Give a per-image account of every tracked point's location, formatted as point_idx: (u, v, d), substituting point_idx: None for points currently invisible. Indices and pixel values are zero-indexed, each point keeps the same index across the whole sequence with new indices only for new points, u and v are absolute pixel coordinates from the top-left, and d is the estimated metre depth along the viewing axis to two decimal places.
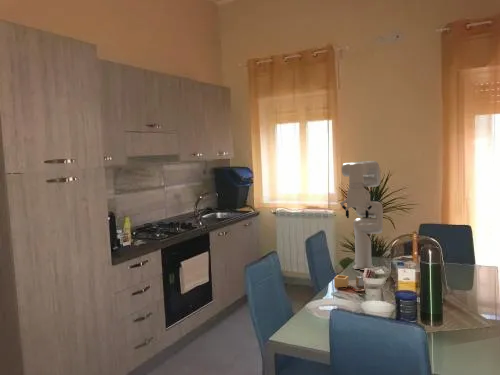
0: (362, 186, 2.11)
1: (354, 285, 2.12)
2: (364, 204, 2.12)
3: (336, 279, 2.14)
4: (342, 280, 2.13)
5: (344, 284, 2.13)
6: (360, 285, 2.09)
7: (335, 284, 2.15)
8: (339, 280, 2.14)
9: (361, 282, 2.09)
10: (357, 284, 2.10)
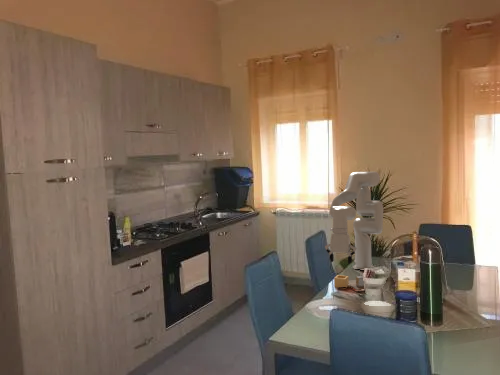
0: None
1: (354, 285, 2.12)
2: None
3: (336, 279, 2.14)
4: (342, 280, 2.13)
5: (344, 284, 2.13)
6: (360, 285, 2.09)
7: (335, 284, 2.15)
8: (339, 280, 2.14)
9: (361, 282, 2.09)
10: (357, 284, 2.10)
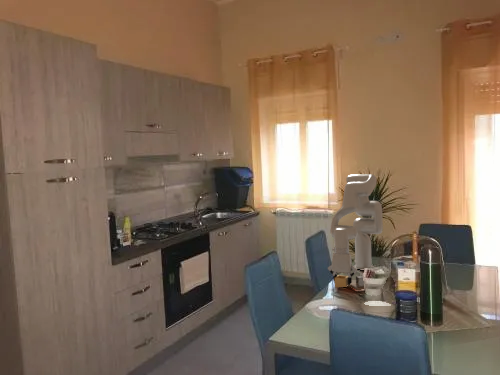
0: None
1: (354, 285, 2.12)
2: None
3: (336, 279, 2.14)
4: (342, 280, 2.13)
5: (344, 284, 2.12)
6: (360, 285, 2.09)
7: (335, 284, 2.15)
8: (339, 280, 2.14)
9: (361, 282, 2.09)
10: (357, 284, 2.10)
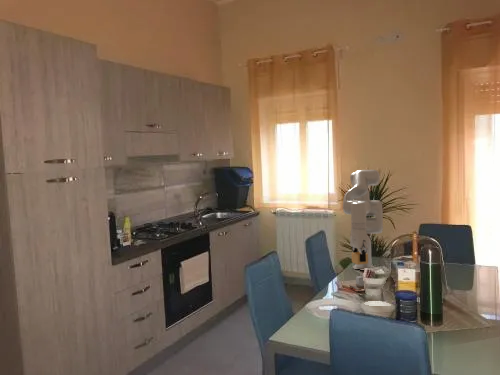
0: None
1: (354, 285, 2.12)
2: None
3: (352, 254, 2.10)
4: (356, 256, 2.07)
5: (357, 260, 2.06)
6: (360, 285, 2.09)
7: (352, 259, 2.11)
8: (354, 255, 2.08)
9: (361, 282, 2.09)
10: (357, 284, 2.10)
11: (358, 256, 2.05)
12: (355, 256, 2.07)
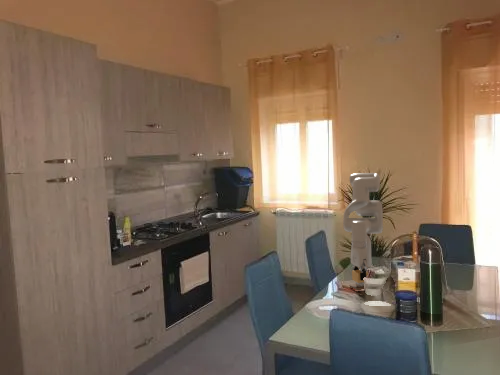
0: None
1: (354, 285, 2.12)
2: None
3: (353, 272, 2.11)
4: (356, 274, 2.07)
5: (357, 278, 2.07)
6: (360, 285, 2.09)
7: (352, 277, 2.11)
8: (354, 274, 2.09)
9: None
10: (357, 284, 2.10)
11: (358, 274, 2.06)
12: (355, 274, 2.08)
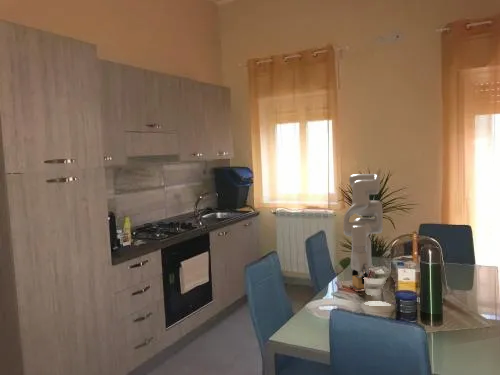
0: None
1: None
2: None
3: (353, 277, 2.11)
4: (356, 279, 2.08)
5: (357, 284, 2.07)
6: None
7: (352, 282, 2.12)
8: (355, 279, 2.10)
9: None
10: None
11: (359, 280, 2.07)
12: (356, 280, 2.08)
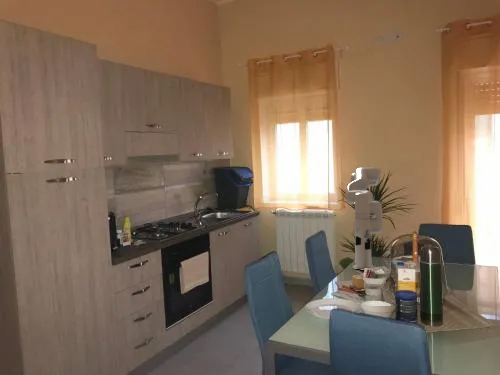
0: None
1: None
2: None
3: (353, 277, 2.11)
4: (356, 279, 2.08)
5: (357, 284, 2.07)
6: None
7: (352, 282, 2.12)
8: (355, 279, 2.10)
9: None
10: None
11: (359, 280, 2.07)
12: (356, 280, 2.08)
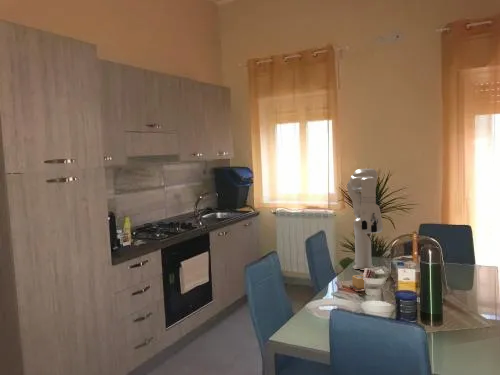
0: None
1: None
2: None
3: (353, 277, 2.11)
4: (356, 279, 2.08)
5: (357, 284, 2.07)
6: None
7: (352, 282, 2.12)
8: (355, 279, 2.10)
9: None
10: None
11: (359, 280, 2.07)
12: (356, 280, 2.08)
